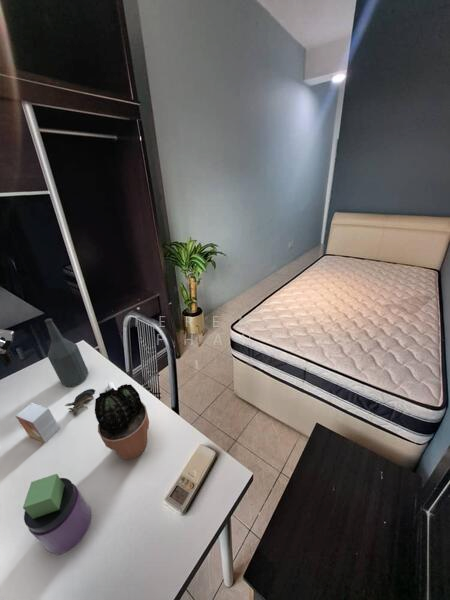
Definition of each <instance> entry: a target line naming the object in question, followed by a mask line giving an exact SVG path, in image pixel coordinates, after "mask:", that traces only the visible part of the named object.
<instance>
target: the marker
mask: <svg viewBox="0 0 450 600" xmlns="http://www.w3.org/2000/svg"><path fill="white" fill-rule="evenodd" d="M107 388H108V390H110V389H112V388H114V389H115V390H117V387H116V386H115V384H114V382H112V381H108V383H107Z"/></svg>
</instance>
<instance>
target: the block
mask: <svg viewBox="0 0 450 600" xmlns="http://www.w3.org/2000/svg"><path fill="white" fill-rule="evenodd" d="M60 478H61V477H60V476H59V475H58V474H57V473H55V474H51V475H49V476H45V477H42V478H39V479H36V480H33V481H31V483H30V485H29V488H28V491H27V494H26V497H25V500H24V503H23V506H22V509H23V510H24V512H25V511H26V512H27V513H28V514H29V515H30V516H31V517H32V518H33V519H34V518H37V517H40V516H43V515H45V514H48V513H51V512H54V511H57V510H59V508H60V503H61V499H62V495H63V490H64V486H65V485H64V483H63V482H62V481H61V479H60Z"/></svg>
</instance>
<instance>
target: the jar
mask: <svg viewBox="0 0 450 600" xmlns="http://www.w3.org/2000/svg"><path fill="white" fill-rule="evenodd" d="M72 484H73V485H74V487H75V488H76V492H77V496H76V501H75V504H74V507H73V509H72V510H71V512H70V513H69V515H68V516H67V517H66V519H65V520H64V521H63V522H62V523H61V524H59V525H58V526H57V527H55V528H54V529H52V530H50V531H48V532H45V533H35V532H33V531H32V530H31V529H30V528H29V527H28V526H27V528H28V531H29V532H30V534H32V536H34V537H35V539H36V540H37V541H38V542H39V543H40V544H41V545H43V547H45V549H47V550H48V551H49V552H50V553H51V554H54V555H60V554H63V553H67V552H68V551H70V550H72V548H75V546H77V545H78V544H79V542H81V541H82V539H83V537H84V536H85V535H86V534H87V532H88V530H89V527H90V525H91V521H92V509H91V507H90V505H89V503H88V502H87V500H86V499H85V497H84V495H83V494H82V493H81V491H80V490H79V488H78V487H77V485H76V484H74V483H73V482H72Z"/></svg>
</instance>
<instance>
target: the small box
mask: <svg viewBox="0 0 450 600" xmlns="http://www.w3.org/2000/svg"><path fill="white" fill-rule="evenodd" d="M15 418H16V419H17V420H18V422H19V424H20V425H21V426H22V428H23V430H24V431H25V433H26V434H27V436H28V437H31V438H34V439H35V440H38V441H40V442H42V443H44V444H45V443H47V442H48V441H49V440H50V439H51V438H52V437H53V436H54V435H55V434H56V433H57V432H58V431H59V430H60V429H61V427H60V426H59V424H58V422H57V420H56V418H55V417H54V415H53V413H52V411H51V410H50V408H48V407H45V406H43V405H40V404H38V403H35V402H30V403H29V404H28V405H26V407H25V408H23V409H22V410H21V411H20V412H18V413H17V414H16V415H15Z"/></svg>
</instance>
